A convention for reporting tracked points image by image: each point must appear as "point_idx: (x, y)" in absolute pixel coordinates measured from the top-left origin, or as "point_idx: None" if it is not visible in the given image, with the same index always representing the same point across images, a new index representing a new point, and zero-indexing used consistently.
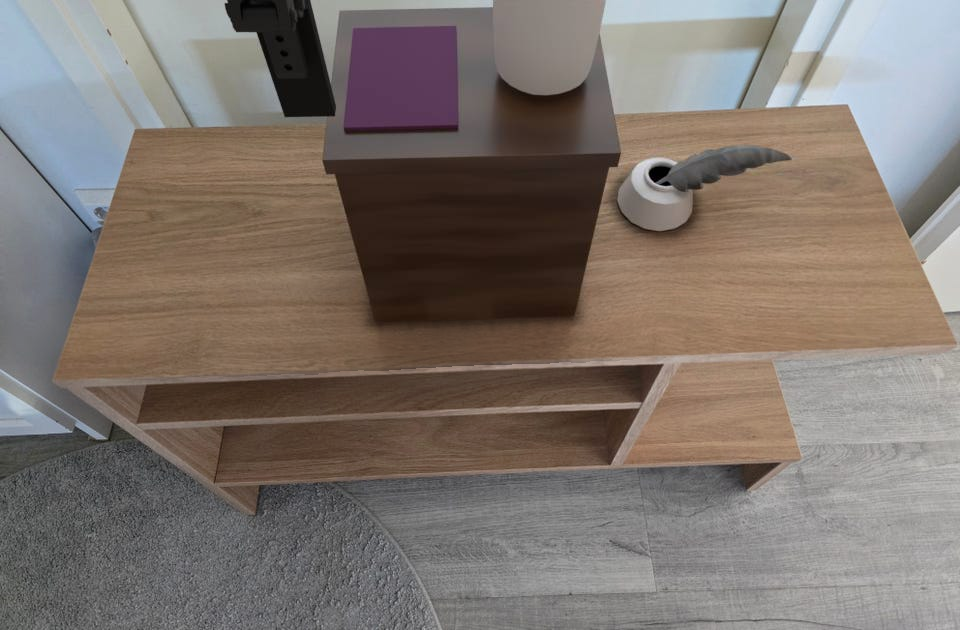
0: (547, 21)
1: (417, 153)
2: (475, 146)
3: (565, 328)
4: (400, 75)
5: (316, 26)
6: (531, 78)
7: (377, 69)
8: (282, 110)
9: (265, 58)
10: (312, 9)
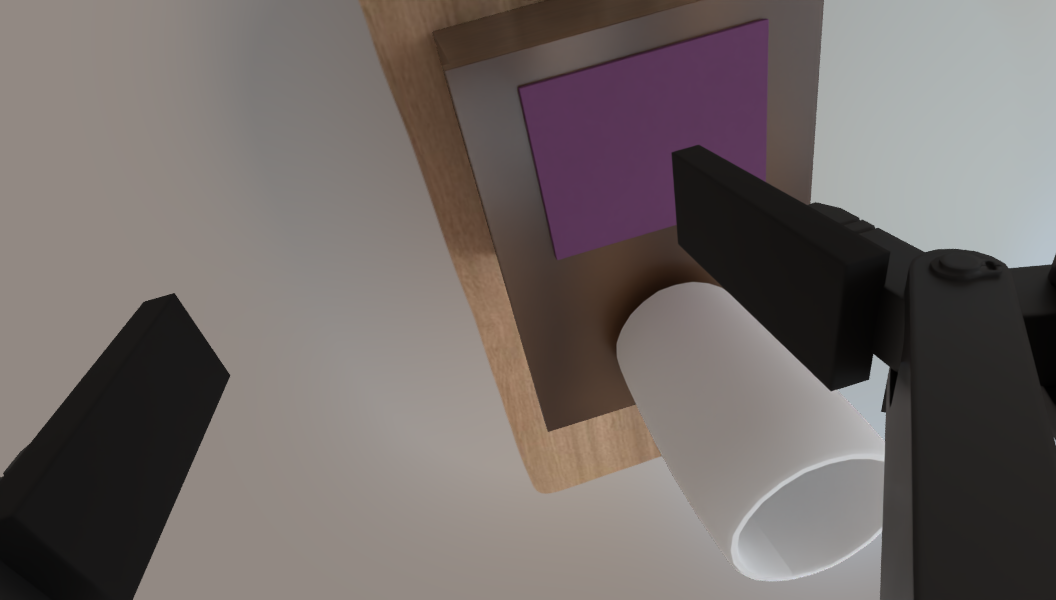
0: (658, 435)
1: (496, 217)
2: (526, 287)
3: (480, 249)
4: (650, 146)
5: (157, 537)
6: (625, 356)
7: (662, 103)
8: (137, 310)
9: (62, 405)
10: (137, 583)
